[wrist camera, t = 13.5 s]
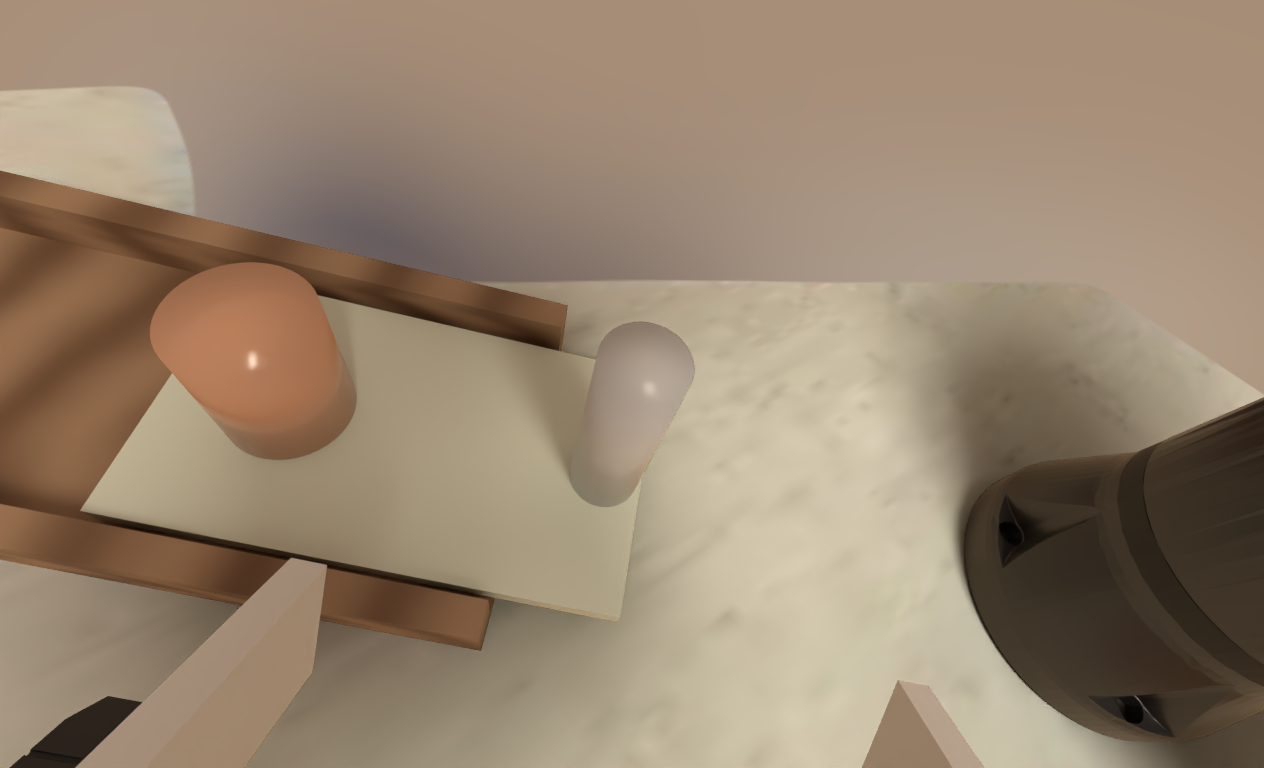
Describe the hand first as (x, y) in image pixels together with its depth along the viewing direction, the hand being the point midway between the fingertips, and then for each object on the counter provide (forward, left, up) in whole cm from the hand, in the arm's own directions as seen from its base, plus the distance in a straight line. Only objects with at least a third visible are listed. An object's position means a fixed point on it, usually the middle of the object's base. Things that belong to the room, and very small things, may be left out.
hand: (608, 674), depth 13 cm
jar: (+17, +8, -14) cm, 24 cm away
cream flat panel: (+14, +3, -15) cm, 21 cm away
